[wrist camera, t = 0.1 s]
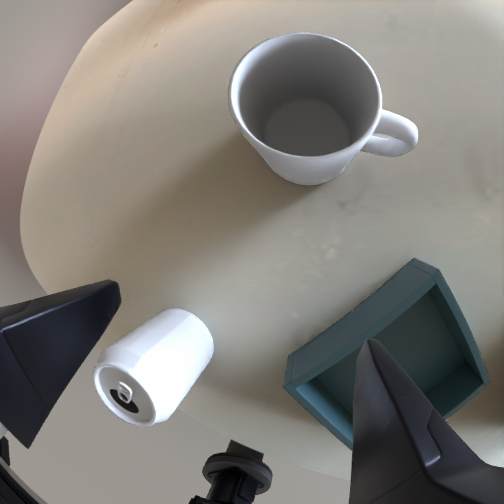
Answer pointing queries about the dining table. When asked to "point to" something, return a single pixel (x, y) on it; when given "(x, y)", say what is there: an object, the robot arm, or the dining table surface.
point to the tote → (391, 350)
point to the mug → (312, 107)
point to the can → (153, 367)
